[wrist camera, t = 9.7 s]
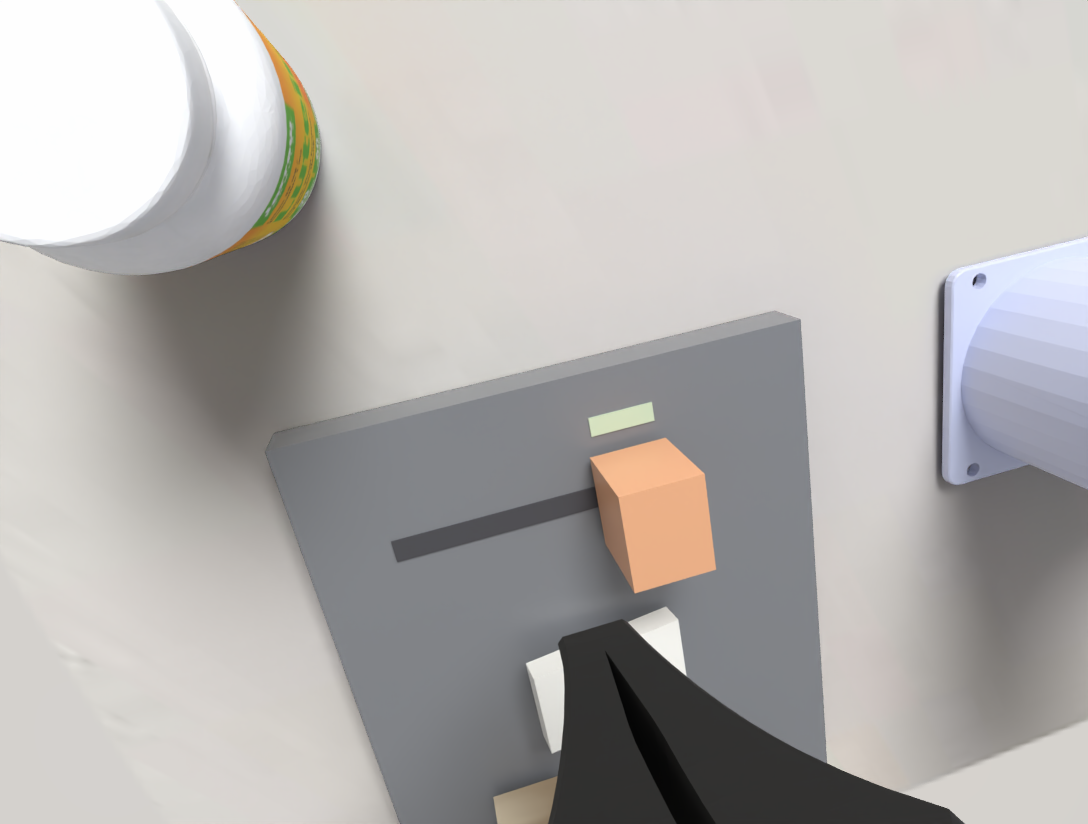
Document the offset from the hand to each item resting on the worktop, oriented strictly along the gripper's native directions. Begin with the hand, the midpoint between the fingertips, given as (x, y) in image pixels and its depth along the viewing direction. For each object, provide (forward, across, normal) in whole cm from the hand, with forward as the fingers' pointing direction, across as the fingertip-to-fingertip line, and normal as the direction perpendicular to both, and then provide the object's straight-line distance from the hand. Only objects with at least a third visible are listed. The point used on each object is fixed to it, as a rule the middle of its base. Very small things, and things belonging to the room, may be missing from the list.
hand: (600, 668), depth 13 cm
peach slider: (+8, -3, +1) cm, 8 cm away
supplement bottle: (+10, +6, -11) cm, 16 cm away
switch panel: (+9, -1, +6) cm, 11 cm away
